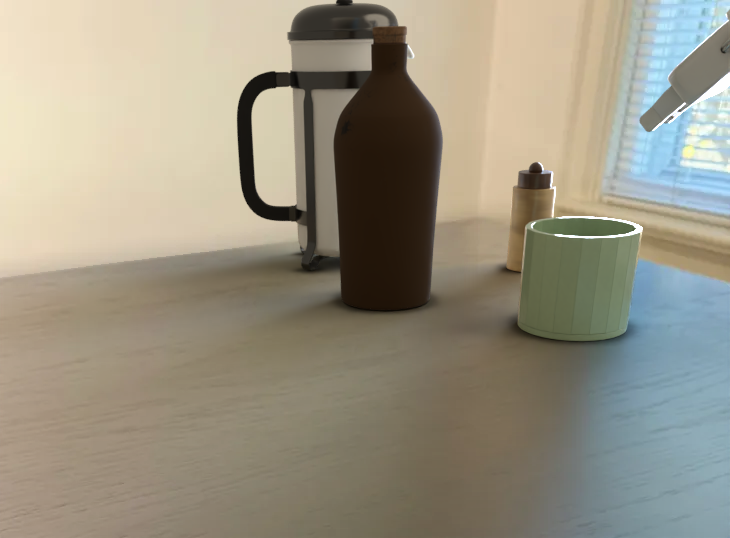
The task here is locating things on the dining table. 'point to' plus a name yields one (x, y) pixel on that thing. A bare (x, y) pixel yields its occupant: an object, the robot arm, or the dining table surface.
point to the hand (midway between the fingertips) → (653, 122)
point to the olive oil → (387, 183)
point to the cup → (578, 277)
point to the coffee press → (314, 114)
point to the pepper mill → (528, 208)
